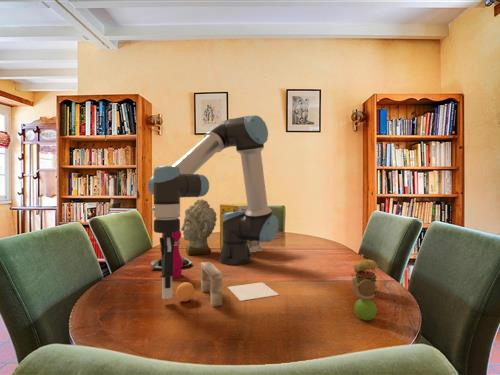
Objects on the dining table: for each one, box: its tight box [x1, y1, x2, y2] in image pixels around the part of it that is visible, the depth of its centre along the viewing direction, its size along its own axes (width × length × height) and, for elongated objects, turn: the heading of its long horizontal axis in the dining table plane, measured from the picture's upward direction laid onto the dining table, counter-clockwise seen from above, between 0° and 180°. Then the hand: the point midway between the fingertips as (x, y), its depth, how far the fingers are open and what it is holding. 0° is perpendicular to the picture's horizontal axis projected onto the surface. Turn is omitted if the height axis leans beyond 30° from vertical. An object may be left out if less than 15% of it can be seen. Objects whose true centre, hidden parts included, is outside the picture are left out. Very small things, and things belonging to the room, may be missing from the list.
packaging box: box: [219, 203, 263, 253], centre depth 159 cm, size 16×16×25 cm
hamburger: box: [353, 253, 379, 294], centre depth 97 cm, size 8×7×12 cm
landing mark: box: [227, 281, 280, 302], centre depth 97 cm, size 13×13×1 cm
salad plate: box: [150, 257, 193, 272], centre depth 131 cm, size 19×18×5 cm
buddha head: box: [180, 199, 218, 256], centre depth 155 cm, size 17×19×28 cm
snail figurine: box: [351, 273, 378, 321], centre depth 76 cm, size 5×6×12 cm
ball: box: [175, 281, 196, 303], centre depth 89 cm, size 6×6×6 cm
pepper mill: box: [172, 229, 183, 279], centre depth 114 cm, size 7×7×20 cm
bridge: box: [200, 261, 223, 307], centre depth 92 cm, size 3×14×9 cm, turn 22°
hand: (167, 297), depth 87 cm, fingers closed
